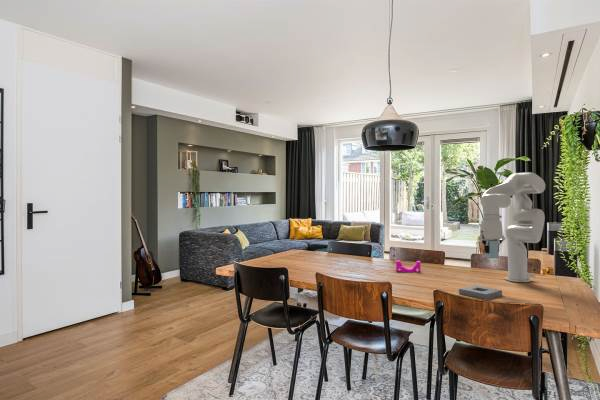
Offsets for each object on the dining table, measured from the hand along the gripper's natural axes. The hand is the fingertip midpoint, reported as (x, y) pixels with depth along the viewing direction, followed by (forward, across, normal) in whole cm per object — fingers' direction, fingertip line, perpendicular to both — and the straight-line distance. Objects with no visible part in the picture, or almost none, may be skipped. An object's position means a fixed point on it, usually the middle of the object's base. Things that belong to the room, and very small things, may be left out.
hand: (491, 252), depth 194 cm
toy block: (+20, +27, -48) cm, 59 cm away
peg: (+3, 0, 0) cm, 3 cm away
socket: (+19, +12, +10) cm, 25 cm away
